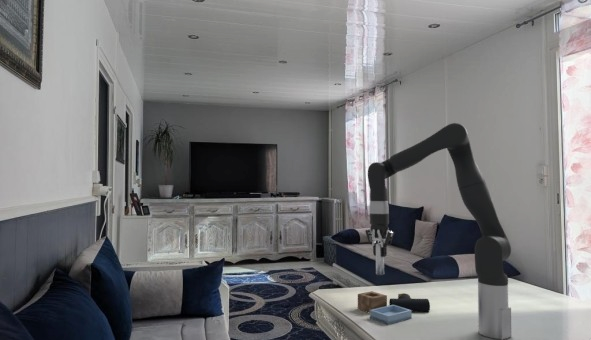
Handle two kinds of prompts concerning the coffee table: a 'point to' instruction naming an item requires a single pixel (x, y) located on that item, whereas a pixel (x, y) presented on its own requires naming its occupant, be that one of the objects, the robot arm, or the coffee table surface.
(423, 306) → the pipe connector
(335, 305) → the coffee table surface
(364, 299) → the pin block
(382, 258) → the pin
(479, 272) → the robot arm
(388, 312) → the tray
